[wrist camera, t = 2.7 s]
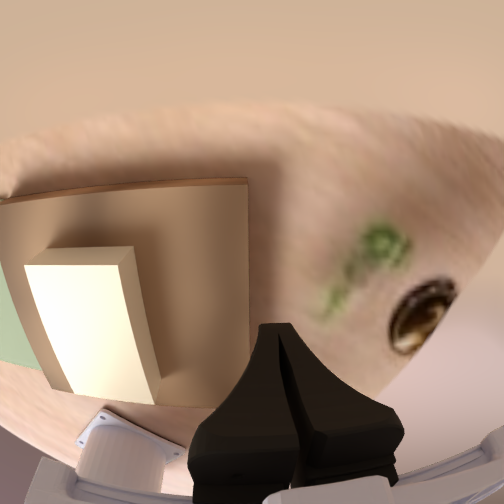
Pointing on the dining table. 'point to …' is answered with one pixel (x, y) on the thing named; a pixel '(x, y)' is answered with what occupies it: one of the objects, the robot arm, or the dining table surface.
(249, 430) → the robot arm
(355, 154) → the dining table surface
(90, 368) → the tile
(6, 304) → the mat
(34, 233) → the board
